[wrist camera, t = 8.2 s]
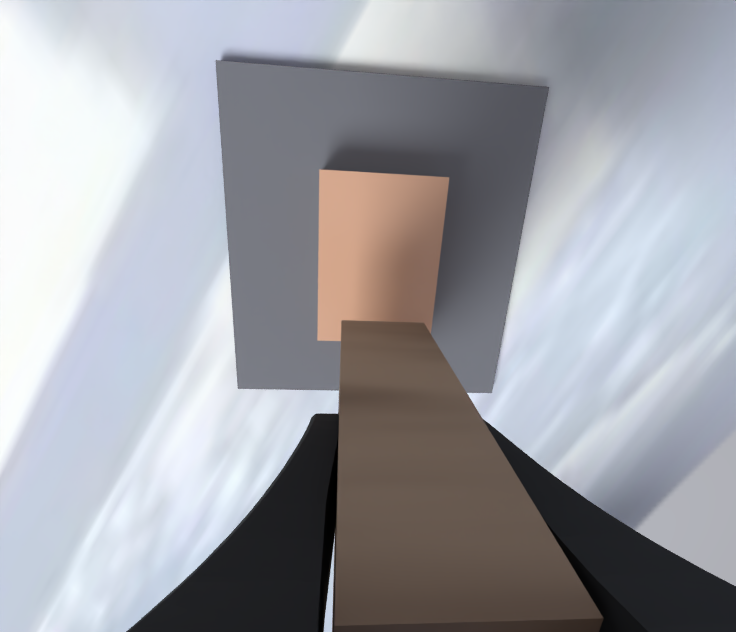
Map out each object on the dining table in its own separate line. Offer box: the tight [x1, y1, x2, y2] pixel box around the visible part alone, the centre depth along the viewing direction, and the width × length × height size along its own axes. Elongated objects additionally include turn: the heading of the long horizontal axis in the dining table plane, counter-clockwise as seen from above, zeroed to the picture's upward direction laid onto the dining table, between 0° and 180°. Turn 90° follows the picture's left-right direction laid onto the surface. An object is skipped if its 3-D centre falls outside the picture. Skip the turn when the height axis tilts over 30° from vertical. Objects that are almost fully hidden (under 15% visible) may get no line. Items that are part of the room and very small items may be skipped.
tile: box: [317, 169, 449, 341], centre depth 16 cm, size 2×5×7 cm
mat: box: [216, 60, 549, 393], centre depth 17 cm, size 14×13×1 cm
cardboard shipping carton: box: [332, 320, 604, 632], centre depth 10 cm, size 5×3×10 cm, turn 177°
